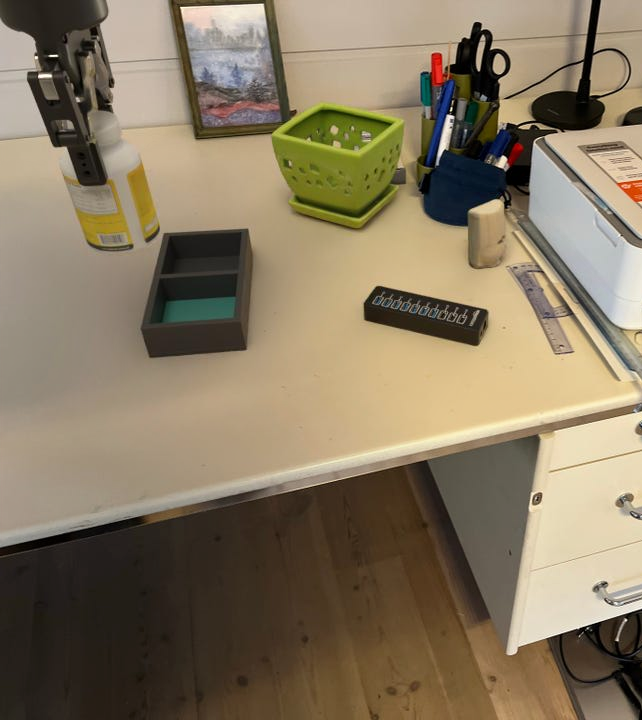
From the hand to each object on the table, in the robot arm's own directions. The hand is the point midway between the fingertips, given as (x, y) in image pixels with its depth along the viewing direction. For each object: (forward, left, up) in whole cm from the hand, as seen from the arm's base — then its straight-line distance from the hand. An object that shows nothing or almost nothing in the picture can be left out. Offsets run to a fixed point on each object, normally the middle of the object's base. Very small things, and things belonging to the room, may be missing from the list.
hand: (101, 163), depth 65 cm
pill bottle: (0, 0, -8) cm, 8 cm away
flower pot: (+35, -21, -25) cm, 47 cm away
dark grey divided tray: (+13, -3, -24) cm, 28 cm away
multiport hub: (+6, -29, -25) cm, 39 cm away
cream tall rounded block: (+19, -39, -25) cm, 50 cm away
